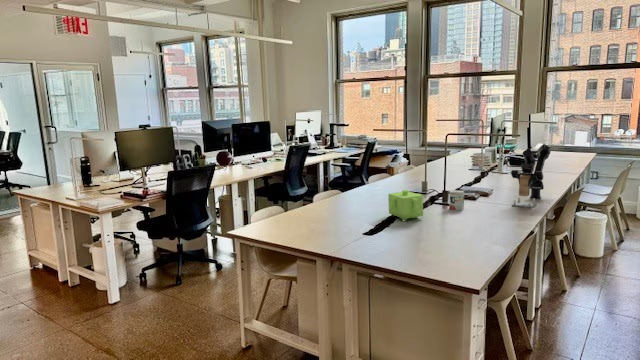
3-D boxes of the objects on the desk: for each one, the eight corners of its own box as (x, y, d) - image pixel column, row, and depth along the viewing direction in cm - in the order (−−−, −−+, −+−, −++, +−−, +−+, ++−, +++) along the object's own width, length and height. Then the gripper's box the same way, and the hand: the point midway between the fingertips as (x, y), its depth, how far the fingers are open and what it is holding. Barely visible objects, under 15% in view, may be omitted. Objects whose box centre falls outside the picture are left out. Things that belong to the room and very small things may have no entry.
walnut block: (521, 193, 289) (522, 174, 287) (529, 194, 286) (530, 175, 284) (518, 195, 286) (519, 175, 283) (526, 196, 283) (528, 176, 280)
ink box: (449, 209, 287) (449, 191, 285) (450, 207, 291) (450, 190, 289) (462, 210, 283) (462, 192, 281) (464, 208, 287) (464, 190, 285)
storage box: (379, 216, 279) (378, 189, 276) (409, 211, 288) (409, 185, 285) (401, 225, 257) (401, 196, 254) (433, 219, 265) (433, 191, 262)
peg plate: (517, 202, 295) (517, 196, 295) (536, 204, 288) (536, 198, 287) (511, 206, 286) (511, 200, 286) (531, 208, 279) (531, 202, 278)
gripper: (512, 157, 291) (506, 177, 284) (542, 159, 279) (537, 179, 272) (515, 167, 298) (509, 187, 292) (545, 169, 286) (540, 189, 280)
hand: (524, 185), depth 284 cm, fingers closed on walnut block, 5 cm apart
